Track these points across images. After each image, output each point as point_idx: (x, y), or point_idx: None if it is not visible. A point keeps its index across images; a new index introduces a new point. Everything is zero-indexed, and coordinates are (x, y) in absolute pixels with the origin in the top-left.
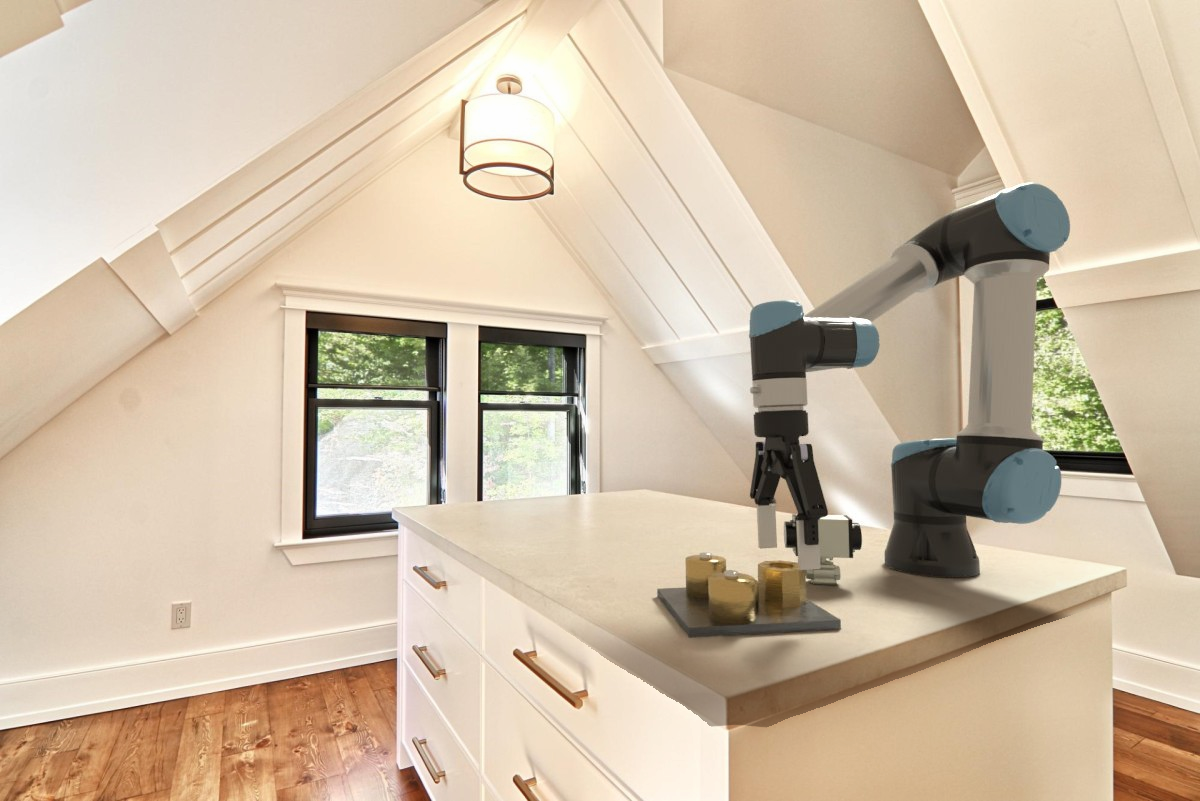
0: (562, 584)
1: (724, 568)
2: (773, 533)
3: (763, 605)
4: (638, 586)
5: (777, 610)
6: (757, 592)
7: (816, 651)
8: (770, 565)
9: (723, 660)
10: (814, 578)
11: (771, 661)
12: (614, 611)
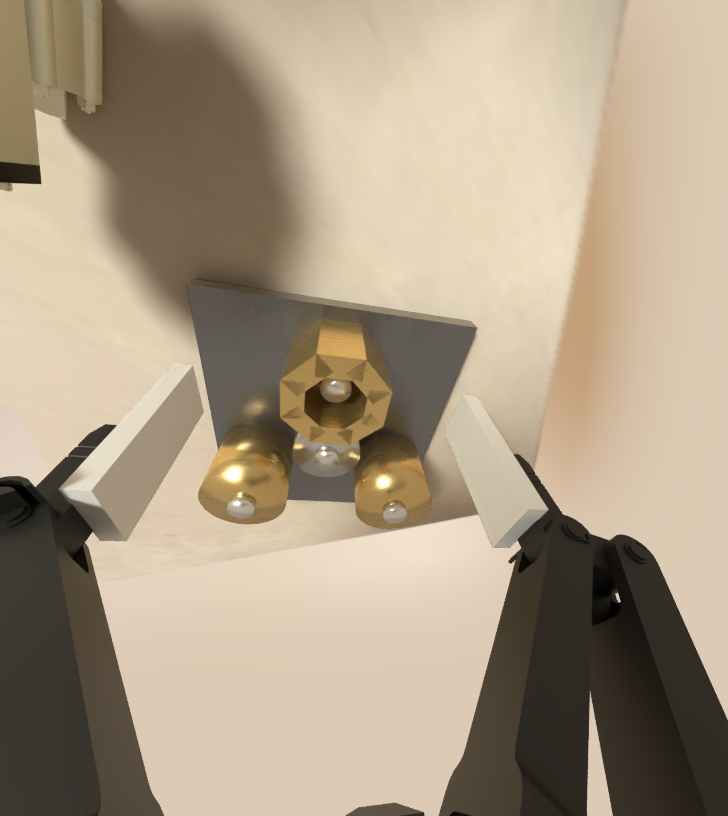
0: (163, 552)
1: (273, 471)
2: (173, 404)
3: None
4: (168, 493)
5: None
6: None
7: (509, 405)
8: (310, 414)
9: None
10: (85, 96)
11: None
12: (291, 528)
